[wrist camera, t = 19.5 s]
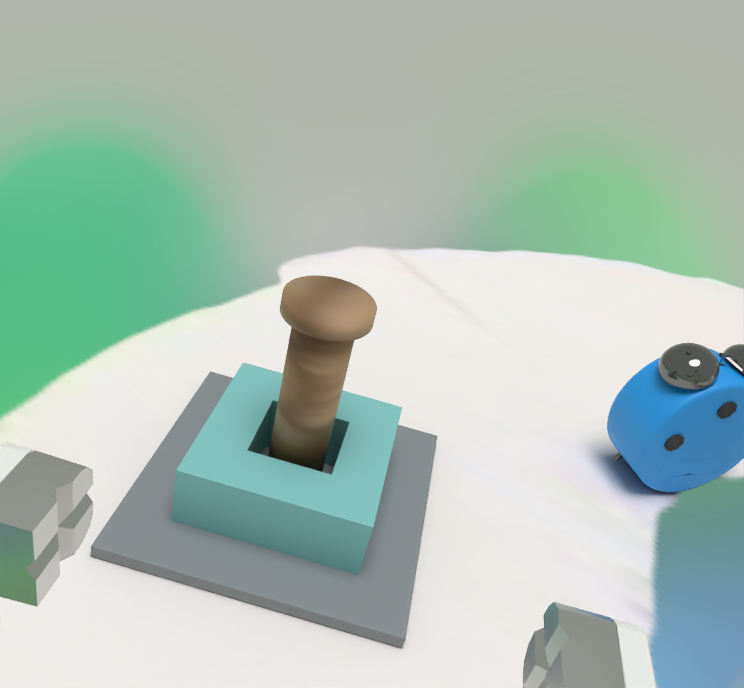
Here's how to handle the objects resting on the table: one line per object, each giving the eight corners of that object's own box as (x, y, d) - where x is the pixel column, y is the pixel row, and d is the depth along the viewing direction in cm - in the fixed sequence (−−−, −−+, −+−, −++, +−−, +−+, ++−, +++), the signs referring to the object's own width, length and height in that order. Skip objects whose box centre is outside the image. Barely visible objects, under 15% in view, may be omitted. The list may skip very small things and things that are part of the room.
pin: (338, 467, 59) (383, 291, 50) (320, 522, 54) (367, 336, 45) (264, 447, 60) (296, 267, 51) (239, 499, 54) (270, 308, 45)
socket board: (434, 444, 66) (451, 393, 63) (401, 648, 48) (423, 591, 45) (209, 380, 67) (215, 327, 64) (91, 556, 49) (90, 493, 45)
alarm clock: (689, 450, 74) (761, 331, 66) (728, 493, 70) (810, 370, 62) (584, 454, 70) (647, 327, 62) (617, 500, 65) (691, 369, 57)
